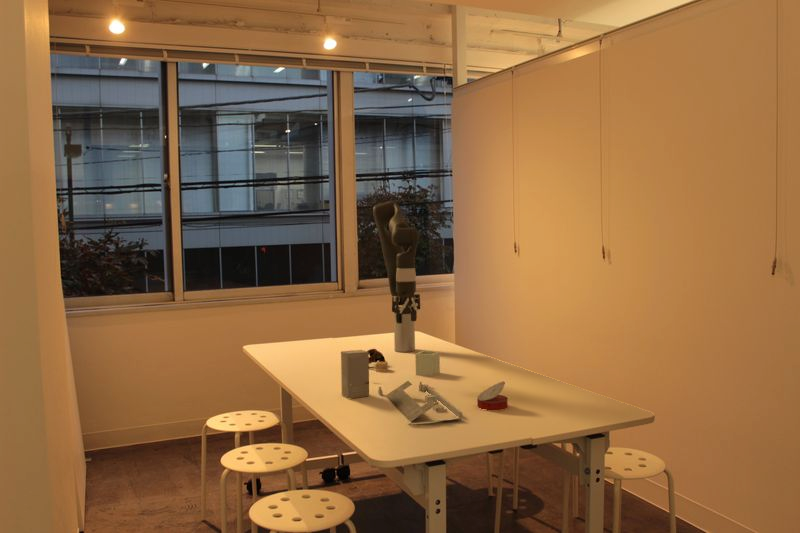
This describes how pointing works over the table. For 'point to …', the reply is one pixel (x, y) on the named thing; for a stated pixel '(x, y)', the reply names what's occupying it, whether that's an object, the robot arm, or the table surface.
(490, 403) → the canned food
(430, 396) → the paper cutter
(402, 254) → the robot arm
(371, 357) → the pottery mug
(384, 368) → the oak block
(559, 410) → the table surface
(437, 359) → the celadon pot
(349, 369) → the skincare box
